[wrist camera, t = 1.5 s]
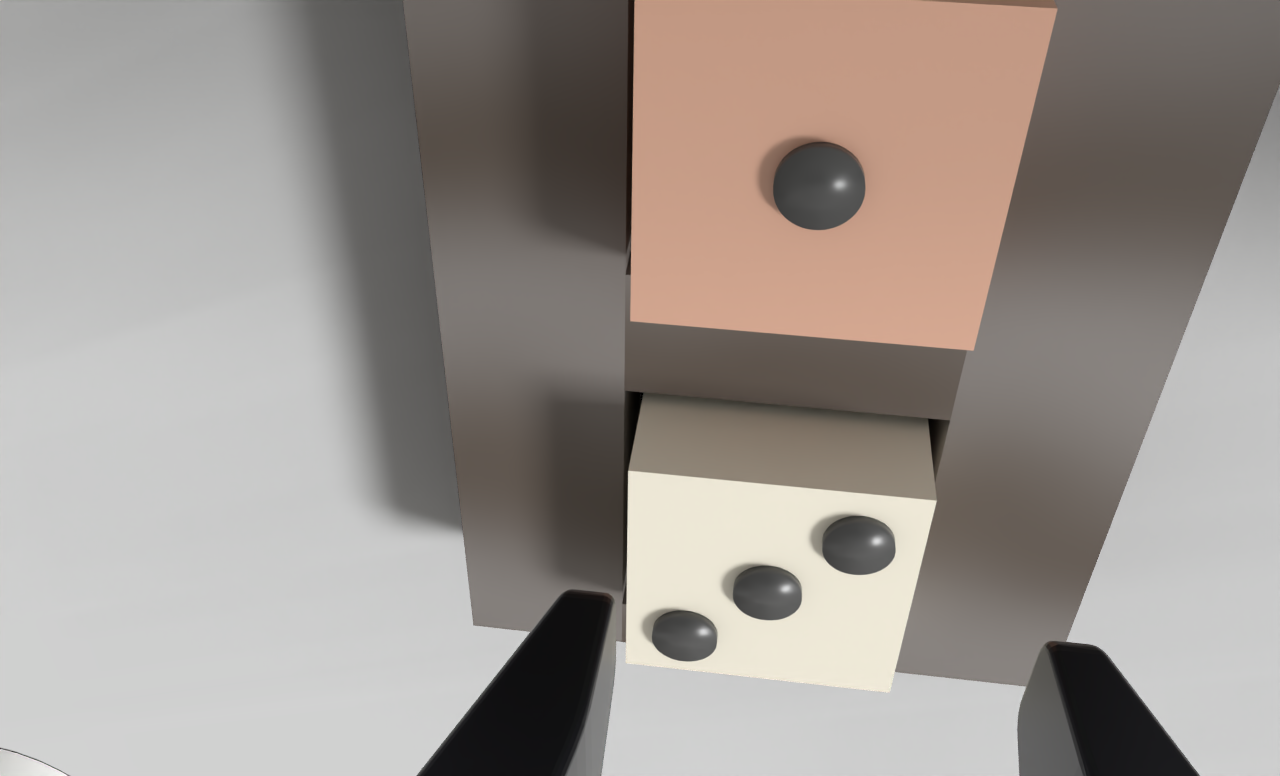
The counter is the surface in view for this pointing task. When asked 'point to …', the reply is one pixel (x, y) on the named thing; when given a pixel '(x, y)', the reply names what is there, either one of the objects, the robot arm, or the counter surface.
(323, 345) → the counter surface
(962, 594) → the tile board
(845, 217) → the tile one
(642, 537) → the tile three
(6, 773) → the cylindrical container
